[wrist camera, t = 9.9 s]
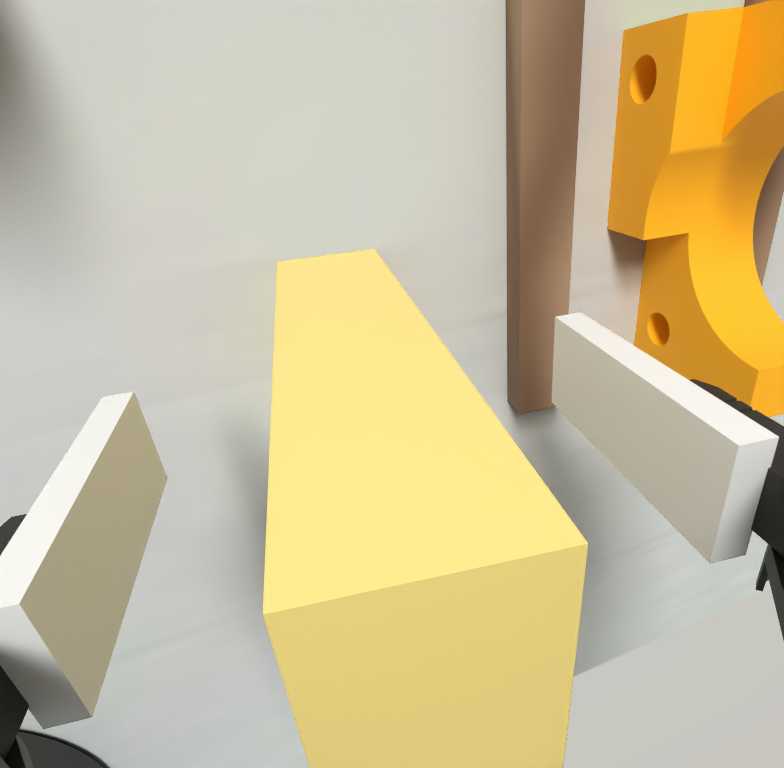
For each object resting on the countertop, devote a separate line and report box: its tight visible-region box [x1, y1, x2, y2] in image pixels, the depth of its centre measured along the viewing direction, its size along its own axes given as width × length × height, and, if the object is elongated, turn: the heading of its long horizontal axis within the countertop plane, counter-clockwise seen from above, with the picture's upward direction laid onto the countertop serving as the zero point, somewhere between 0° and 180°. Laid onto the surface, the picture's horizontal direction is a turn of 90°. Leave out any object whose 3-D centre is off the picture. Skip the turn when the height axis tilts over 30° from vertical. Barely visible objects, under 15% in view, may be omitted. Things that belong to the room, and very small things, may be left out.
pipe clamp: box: [607, 0, 784, 417], centre depth 18 cm, size 12×4×6 cm, turn 6°
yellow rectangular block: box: [263, 249, 588, 768], centre depth 13 cm, size 4×5×15 cm
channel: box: [506, 0, 784, 414], centre depth 17 cm, size 10×24×1 cm, turn 6°
